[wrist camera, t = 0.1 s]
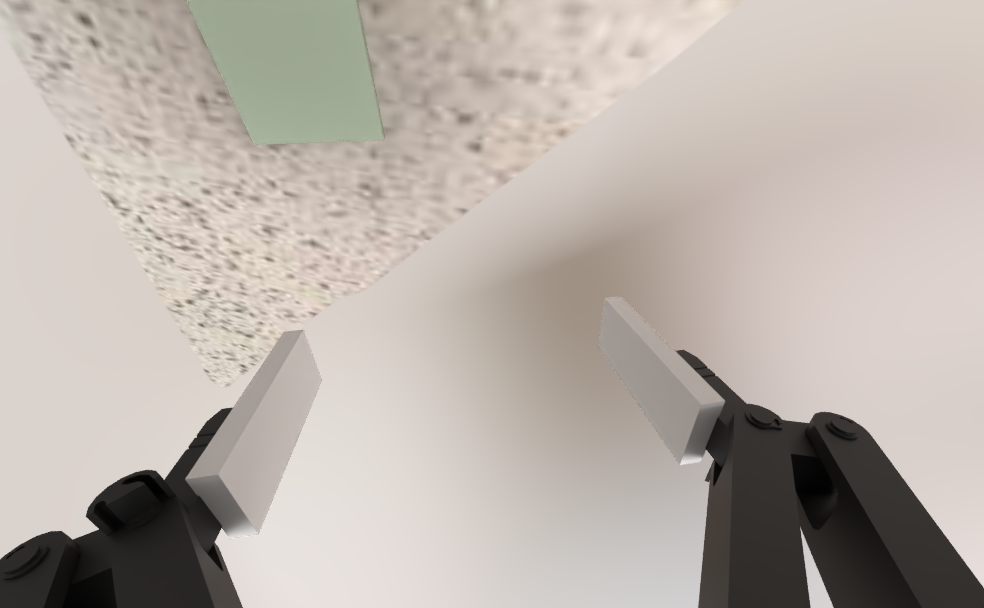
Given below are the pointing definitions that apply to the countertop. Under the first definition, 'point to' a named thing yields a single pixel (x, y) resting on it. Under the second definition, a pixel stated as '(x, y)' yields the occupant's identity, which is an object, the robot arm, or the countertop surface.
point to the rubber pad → (293, 68)
